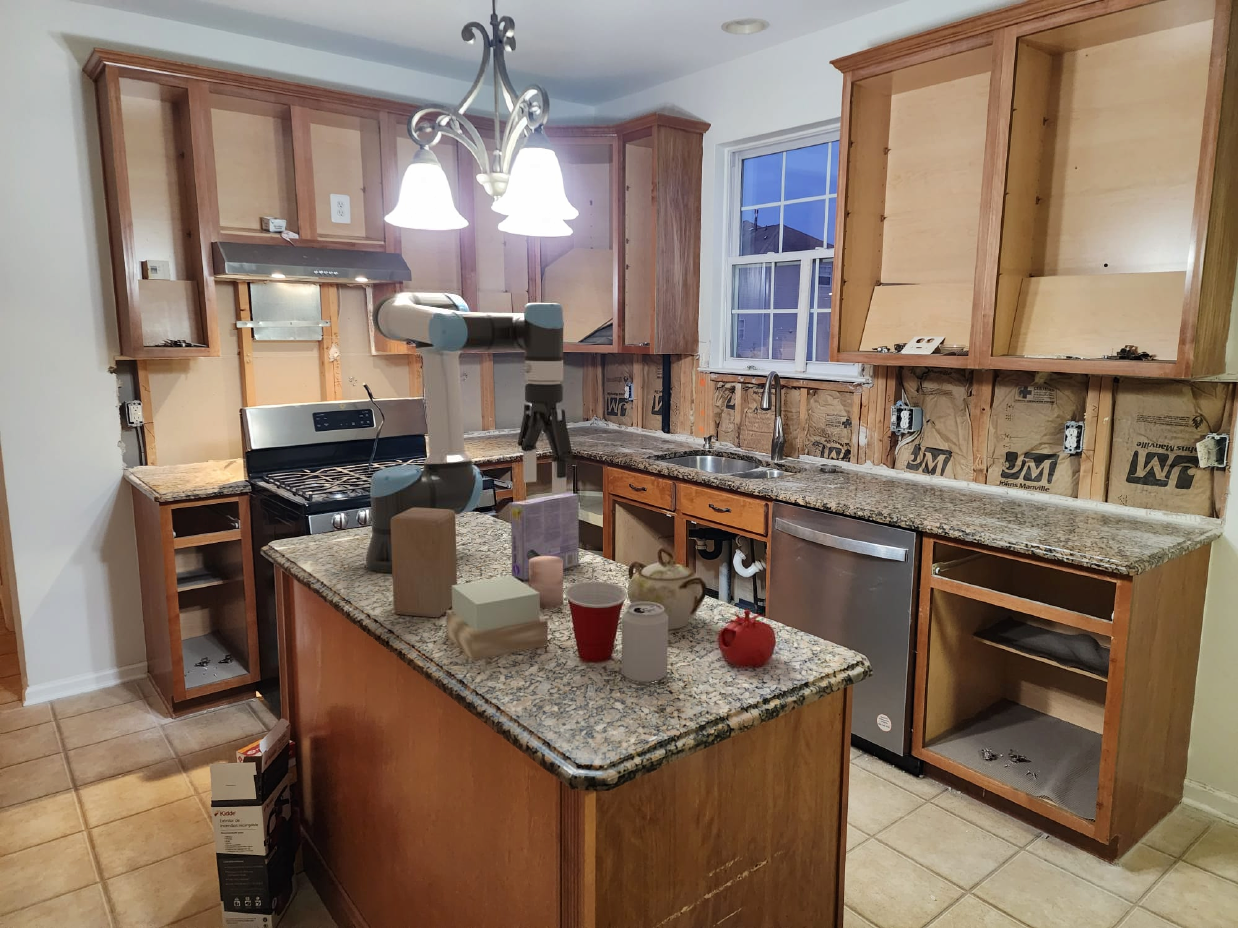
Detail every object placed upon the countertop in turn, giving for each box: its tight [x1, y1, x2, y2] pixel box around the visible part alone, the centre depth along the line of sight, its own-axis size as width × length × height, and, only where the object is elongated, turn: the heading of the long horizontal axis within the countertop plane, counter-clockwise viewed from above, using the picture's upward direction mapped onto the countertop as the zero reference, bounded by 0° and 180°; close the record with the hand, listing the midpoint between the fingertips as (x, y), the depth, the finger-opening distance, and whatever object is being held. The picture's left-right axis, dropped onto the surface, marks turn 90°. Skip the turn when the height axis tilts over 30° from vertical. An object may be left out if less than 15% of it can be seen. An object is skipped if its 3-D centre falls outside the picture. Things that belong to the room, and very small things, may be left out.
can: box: [621, 602, 669, 684], centre depth 131 cm, size 8×8×12 cm
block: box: [391, 507, 458, 618], centre depth 162 cm, size 10×10×20 cm
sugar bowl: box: [626, 547, 708, 631], centre depth 156 cm, size 20×15×15 cm
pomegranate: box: [717, 609, 777, 668], centre depth 139 cm, size 10×10×9 cm
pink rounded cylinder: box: [528, 556, 564, 609], centre depth 167 cm, size 7×7×9 cm
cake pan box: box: [510, 492, 580, 582], centre depth 189 cm, size 19×5×18 cm, turn 139°
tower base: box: [445, 609, 549, 661], centre depth 147 cm, size 14×14×5 cm
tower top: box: [451, 575, 541, 632], centre depth 147 cm, size 12×12×5 cm
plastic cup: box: [564, 580, 628, 664], centre depth 139 cm, size 11×11×12 cm
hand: (544, 487), depth 163 cm, fingers open, 13 cm apart
